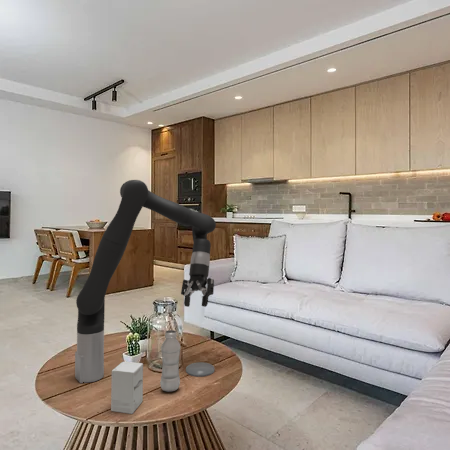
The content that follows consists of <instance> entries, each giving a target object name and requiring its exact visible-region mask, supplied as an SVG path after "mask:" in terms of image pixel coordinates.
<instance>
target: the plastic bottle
mask: <svg viewBox="0 0 450 450" xmlns="http://www.w3.org/2000/svg"><path fill="white" fill-rule="evenodd" d="M164 334H165V335H164V337H165V339H164V341H163V342H162V344H161V347H160V351H161V359H162V367H161V368H162V369H161V376H160V382H159V385H160V388H161V389H162V391H164V392H167V393H170V392H175V391H177V390H178V389H179V388H180V383H181V379H180V371H179V369H180V368H179V362H180V353H181V343H180V342H179V340H178V339H177V336H178V335H177V330H173V329H167V330H165V333H164Z"/></svg>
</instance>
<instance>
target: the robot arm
mask: <svg viewBox="0 0 450 450" xmlns="http://www.w3.org/2000/svg"><path fill="white" fill-rule="evenodd" d="M119 193H120V197H121V200H120V203H119V206H118V209H117V211H116V213H115V216H114V217H113V218H112V220H111V221H110V222H109V224H108V225H107V227H106V228H105V231H104V232H103V234H102V237H101V239H100V241H99V244H98V246H97V249H96V252H95V255H94V258H93V261H92V262H93V263H92V265H91V270H90V273H89V275H88V277H87V279H86V281H85V283H84V285H83V287H82V289H81V290H80V291H79V293H78V295H77V297H76V300H75V303H76V308H77V323H76V351H74V378H75V379H76V380H77V381H78V382H79V384H83V382H84V383H94V382H97V381H99V380H101V379H102V378H104V375H105V373H104V372H105V365H104V364H105V356H104V355H105V311H106V310H105V304H106V303H105V299H106V295H107V290H108V288H109V285H110V282H111V279H112V277H113V276H114V274H115V272H116V270H117V268H118V266H119V264H120V263H121V260H122V258H123V257H124V256H123V255H124V254H125V251H126V249H127V247H128V244H129V240H130V238H131V235H132V232H133V230H134V226H135V223H136V221H137V219H138V216H139V215H140V212H141V211H142V209H143V208H145V209H148V210H150V211H153V212H155V213H157V214H160V215H161V216H163V217H164V218H166V219H168V220H170V221H173V222H175V223H177V224H179V225H181V226H184V227H191V228H192V229H191V233H192V241H193V245H192V254H191V258H190V262H189V263H190V265H189V271H188V272H189V273H188V275H189V280H188V279H183V280H182V285H181V291H180V294H181V296H184V302H183V305H184V307H189V308H190V305H191V296H192V294H193V293H195V292H198V291H200V292H201V293H202V295H203V296H202V297H201V298H202V299H201V306H202V307H205V308H206V307H207V306H208V304H209V297H210V296H212V295H214V290H215V289H214V287H215V280H214V278H210V277H209V271H210V264H211V263H210V261H211V258H210V257H211V245H212V244H211V240H209V239H208V238H207V237H208V234H210V233H212V232H214V231H215V229H216V228H217V227H216V226H217V222H216V220H215V219H214V218H213V217H212V216H210V215H208V214H206V213H202V212H199V211H195V210H192V209H190V208H187V207H185V206H184V205H182V204H179V203H177V202H175V201H172V200H169V199H167V198H164V197H162V196H160V195H157V194H156V193H154V192H152V191H150V190H149V188H148V186H147V184H146V183H145V182H144V181H142V180H140V179H131V180H126V181H125V182H124V183H123V184H122V185H121V187H120V189H119Z"/></svg>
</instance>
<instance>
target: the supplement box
mask: <svg viewBox="0 0 450 450" xmlns="http://www.w3.org/2000/svg"><path fill="white" fill-rule="evenodd" d="M110 390H111V395H110V397H111V398H110V401H111V402H110V404H111V405H110V411H111V412H116V413H122V414H123V413H124V414H130V415H133V414H134V412H135V411H136V410H137V409H138V407H140V406H141V404H142V403H143V399H144V397H143V395H144V394H143V393H144V391H143V390H144V363H142V362H133V361H132V362H131V361H122V362H120V363H119V364H118V365H117V366H115V367H114V368H113V369H112V370H111V388H110Z"/></svg>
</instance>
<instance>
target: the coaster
mask: <svg viewBox="0 0 450 450" xmlns="http://www.w3.org/2000/svg"><path fill="white" fill-rule="evenodd" d="M185 367H186V368H185V372H186V374H187V375H188V376H192V377H197V378H199V377H202V378H203V377H207V376H210V375H212V374H214V372H215V366H214V365H213V364H211V363H210V362H209V363H208V362H203V361H202V362H200V361H199V362H193V363H190V364H188V365H187V366H185Z"/></svg>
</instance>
